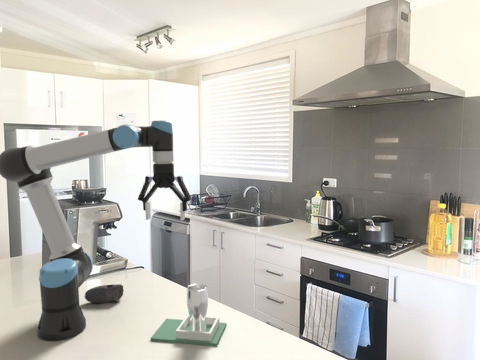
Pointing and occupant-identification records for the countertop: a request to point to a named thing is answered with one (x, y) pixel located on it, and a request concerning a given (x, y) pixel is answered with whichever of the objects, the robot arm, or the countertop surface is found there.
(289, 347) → the countertop surface
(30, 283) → the countertop surface
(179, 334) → the green board with frame
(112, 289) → the perforated stone tool
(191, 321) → the beer glass
